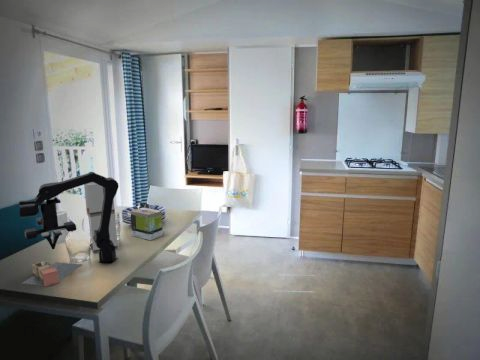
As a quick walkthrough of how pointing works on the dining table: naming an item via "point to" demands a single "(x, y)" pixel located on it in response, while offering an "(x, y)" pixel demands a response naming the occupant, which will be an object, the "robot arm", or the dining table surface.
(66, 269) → the base plate
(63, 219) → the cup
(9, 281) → the dining table surface
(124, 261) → the dining table surface
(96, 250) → the tall white box
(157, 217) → the tea box
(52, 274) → the keeper
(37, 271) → the link
